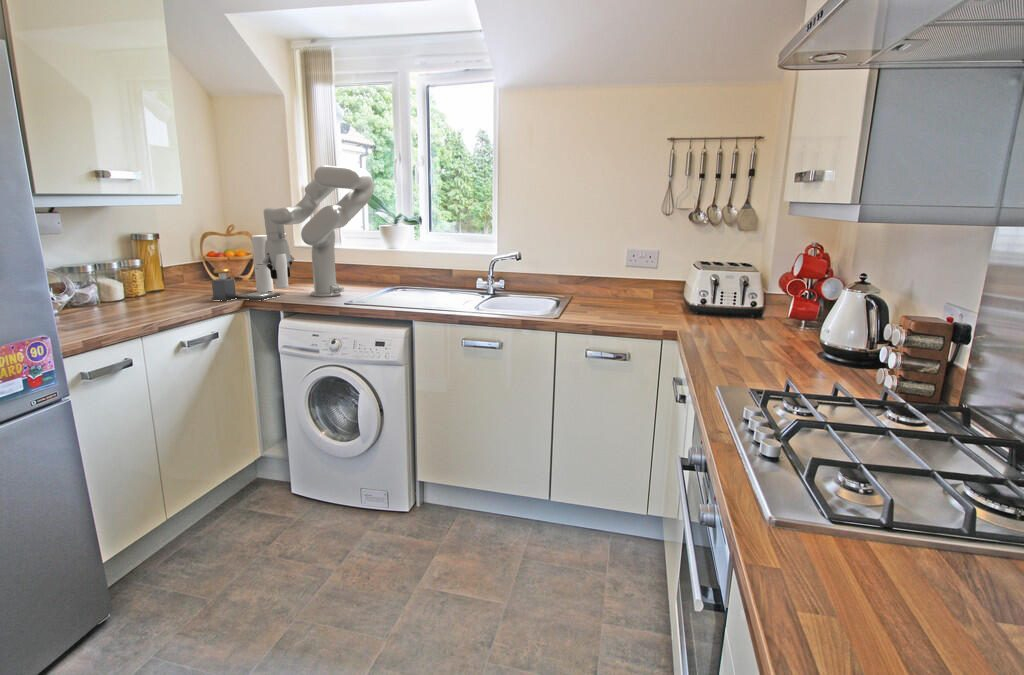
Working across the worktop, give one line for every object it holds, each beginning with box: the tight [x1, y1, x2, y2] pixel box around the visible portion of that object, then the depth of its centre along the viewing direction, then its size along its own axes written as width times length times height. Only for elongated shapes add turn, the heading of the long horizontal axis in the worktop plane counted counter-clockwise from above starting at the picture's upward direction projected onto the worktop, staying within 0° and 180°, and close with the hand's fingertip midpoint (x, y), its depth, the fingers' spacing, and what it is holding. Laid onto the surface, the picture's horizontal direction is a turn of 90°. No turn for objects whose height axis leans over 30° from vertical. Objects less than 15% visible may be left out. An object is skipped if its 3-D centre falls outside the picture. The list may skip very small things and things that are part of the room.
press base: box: [211, 278, 281, 302], centre depth 242 cm, size 20×18×8 cm
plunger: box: [213, 268, 231, 280], centre depth 237 cm, size 6×6×8 cm
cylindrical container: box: [250, 234, 275, 292], centre depth 259 cm, size 7×7×25 cm
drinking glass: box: [271, 254, 289, 289], centre depth 254 cm, size 7×7×15 cm
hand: (280, 277), depth 255 cm, fingers closed on drinking glass, 6 cm apart
